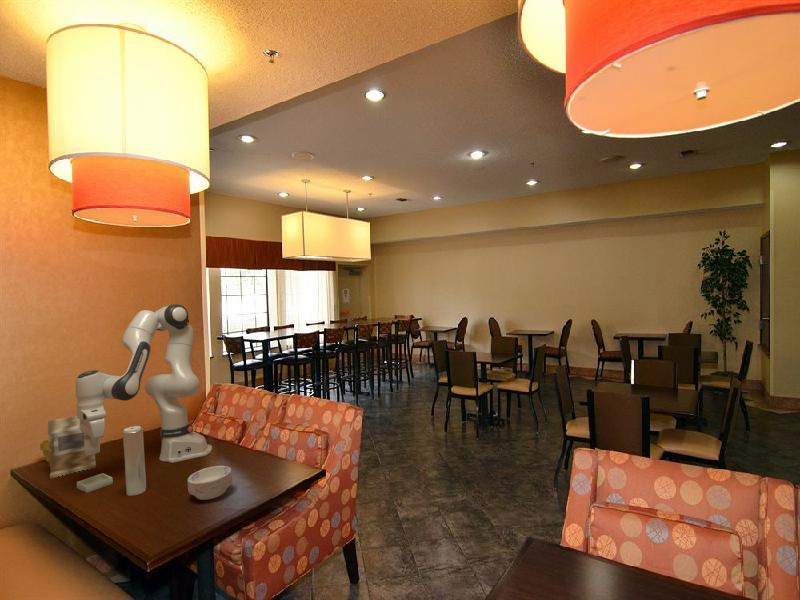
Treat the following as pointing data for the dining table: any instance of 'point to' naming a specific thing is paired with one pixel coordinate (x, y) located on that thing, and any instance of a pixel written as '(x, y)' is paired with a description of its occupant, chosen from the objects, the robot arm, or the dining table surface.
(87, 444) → the cartridge
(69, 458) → the plate
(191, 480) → the paper bowls
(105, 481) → the service tray
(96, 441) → the robot arm
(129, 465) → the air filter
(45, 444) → the plant pot
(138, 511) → the dining table surface
